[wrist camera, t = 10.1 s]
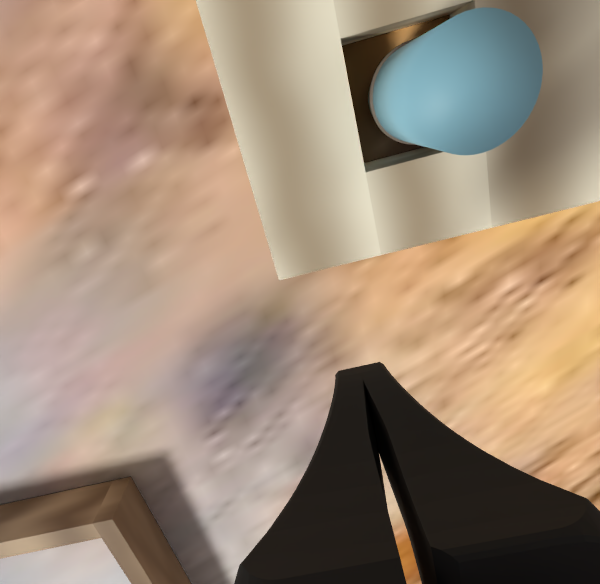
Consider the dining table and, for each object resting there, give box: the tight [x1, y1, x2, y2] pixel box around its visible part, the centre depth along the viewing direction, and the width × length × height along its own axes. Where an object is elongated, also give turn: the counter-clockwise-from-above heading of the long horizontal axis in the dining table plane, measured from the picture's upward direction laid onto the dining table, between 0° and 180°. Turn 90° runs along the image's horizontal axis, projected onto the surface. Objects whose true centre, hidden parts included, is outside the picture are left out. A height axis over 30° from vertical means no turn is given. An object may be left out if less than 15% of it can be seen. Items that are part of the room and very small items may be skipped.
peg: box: [368, 7, 543, 155], centre depth 14 cm, size 4×4×8 cm
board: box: [196, 0, 600, 280], centre depth 17 cm, size 14×12×2 cm
